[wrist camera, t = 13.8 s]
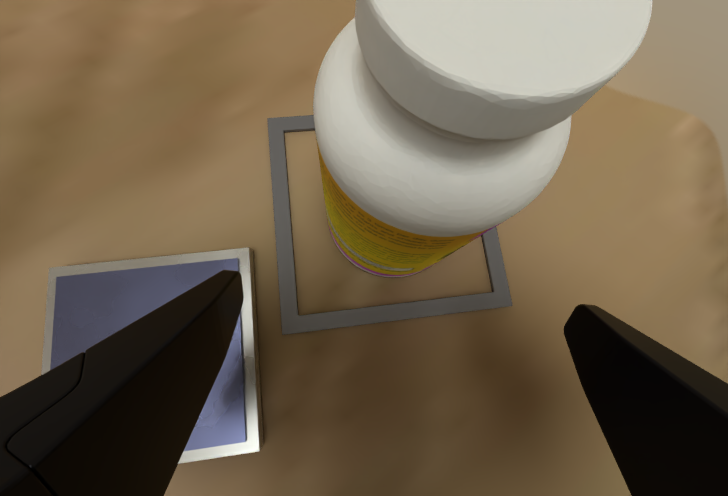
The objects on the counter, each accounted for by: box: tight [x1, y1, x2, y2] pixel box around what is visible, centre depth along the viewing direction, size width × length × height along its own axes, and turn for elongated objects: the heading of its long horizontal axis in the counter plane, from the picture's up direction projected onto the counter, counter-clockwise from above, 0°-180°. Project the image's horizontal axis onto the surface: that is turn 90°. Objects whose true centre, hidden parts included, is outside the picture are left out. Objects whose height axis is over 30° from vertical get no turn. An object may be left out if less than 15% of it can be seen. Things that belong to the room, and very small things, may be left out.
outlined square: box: [268, 115, 512, 335], centre depth 17 cm, size 12×12×1 cm
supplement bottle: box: [313, 0, 652, 277], centre depth 11 cm, size 7×7×13 cm
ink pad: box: [41, 248, 264, 464], centre depth 15 cm, size 9×9×1 cm
